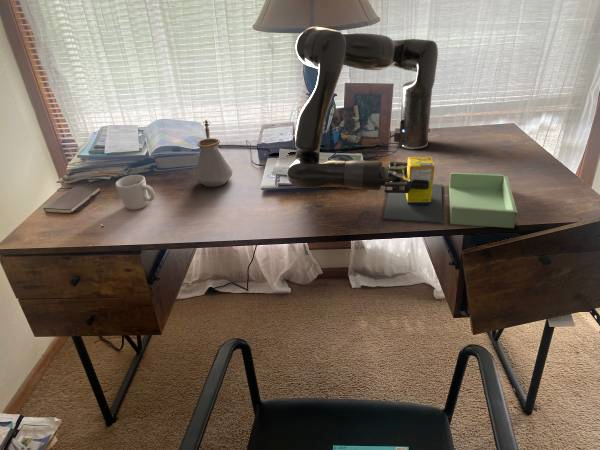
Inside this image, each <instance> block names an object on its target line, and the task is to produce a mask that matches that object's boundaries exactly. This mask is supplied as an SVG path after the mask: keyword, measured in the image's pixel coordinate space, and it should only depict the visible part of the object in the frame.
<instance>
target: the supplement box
mask: <svg viewBox="0 0 600 450" xmlns="http://www.w3.org/2000/svg"><path fill="white" fill-rule="evenodd" d="M407 163H408V165H407V166H406V167H407V177H406V178H409V179H412V180H428V181H429V186H428V189H412V190H409V193H406V199H407V204H408V205H415V204H431V196H432V186H433V185H434V175H435V163H434V160H433V158H432V156H408V157H407Z"/></svg>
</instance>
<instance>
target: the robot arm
mask: <svg viewBox="0 0 600 450" xmlns="http://www.w3.org/2000/svg"><path fill="white" fill-rule="evenodd" d="M438 50H439V48H438V44H437V43H436V42H435V41H434V40H431V39H420V38H408V39H392V38H391V37H389V36H387V35H383V34H378V33H361V32H360V33H358V32H355V33H354V32H353V33H342V31H341V32H340V31H339V30H336V29H332V28H331V29H330V28H326V27H320V26H311V27H308V28H306V29H305V30H303V31H302V32H301V33H300V35H298V37H297V40H296V43H295V52H296V54H297V56H298V59H299V60H300V61H301V62H302V63H303V64H304V65H306V66H308V67H311V68H315V69H318V75H317V80H316V83H315V84H316V85H315V88H314V90H313V92H312V94H311V95H310V97H309V98H308V100H307V101H306V103H305V104H304V106H303V107H302V109H301V111H300V112H299V116H298V119H297V124H296V130H295V135H294V136H295V147H296V148H297V151H296V153H295V158H294V161H293V162H292V164H291V165H289V167H288V169H287V171H286V177H287V180H288V181H289V183H290V184H291V185H293V186H294V187H296V188H303V189H311V188H312V189H313V188H314V189H315V188H322V187H334V188H349V189H353V190H366V191H367V190H368V191H380V190H381V188H382V187H384V193H386V194H388V193H409V190H412V189H428V186H429V181H428V180H412V179H409V178H407V165H408V162H402V161H390V162H389V166H383V165H384V164H383V162H382V161H380V160H359V159H358V160H357V159H356V160H355V159H354V160H339V159H338V160H337V159H335V160H334V159H332V160H327V161H324V162H320V153H321V150H320V148H321V145H322V140H323V135H324V129H325V124H326V119H327V115H328V111H329V108H330V105H331V102H332V99H333V96H334V93H335V91H336V88H337V84H338V82H339V78H340V76H341V73H342V70H343V66H346V67H350V68H354V69H358V70H364V71H382V70H387V68H390V67H392V68H397V69H401V70H404V71H408V72H415V73H416V77H415V80H410V81H408V82H405V83H404V84H403V85H402V88H401V105H400V106H401V107H400V108H401V109H400V120H399V128H394V132H393V134H391V135H389V136H390V138H393V143H398V148H402V149H406V150H421V149H425V148H427V147H428V145H429V134H430V131H431V129H430V118H431V110H432V109H431V107H432V96H433V94H432V93H433V88H434V85H435V81H436V73H437V72H436V71H437V67H438V58H439V51H438ZM390 138H389V139H390ZM257 146H258V145H255V144H254V145H253V144H252V145H251V144H219V145H218V148H233V147H234V148H254V149H255V148H257ZM354 146H355V147H351V148H344V149H343V150H346V149H347V150H349V149H359V148H360V149H361V148H362V149H366V148H367V149H368V148H376V147H378V146H380V145H376V144H372V145H371V144H370V145H354ZM257 149H258V148H257ZM394 187H395V188H394ZM403 188H404V189H403Z"/></svg>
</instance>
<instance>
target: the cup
mask: <svg viewBox="0 0 600 450" xmlns="http://www.w3.org/2000/svg"><path fill="white" fill-rule="evenodd" d="M114 186H115V188H116V189H117V193H118V194H119V196H120V199H121V200H122V203H123V205H124V206H125V208H126V209H128V210H131V211H137V210H140V209H143V208H145V207H146V206H147V205H148V204H149V202H152V201H153V200H155V197H156V193H155V190H154V189H153V187H152V186H151V185H149V184H147V182H146V178H145V176H144V175H142V174H130V175H126V176H123V177H120V178H119V179H118V180H116V182H115V185H114ZM148 192H149V193H148ZM149 194H150V196H149Z"/></svg>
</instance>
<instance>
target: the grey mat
mask: <svg viewBox="0 0 600 450" xmlns="http://www.w3.org/2000/svg"><path fill="white" fill-rule="evenodd" d="M442 187H443V185H442V184H433V186H432V196H431V204H415V205H408V204H407V199H406V193H387V197H386V203H385V207H384V212H383V217H382V220H383V221H396V222H397V221H399V222H413V223H426V224H443V204H442V203H443V193H442V191H443V190H442V189H443V188H442ZM394 188H395V187H394ZM403 189H404V188H403Z"/></svg>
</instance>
